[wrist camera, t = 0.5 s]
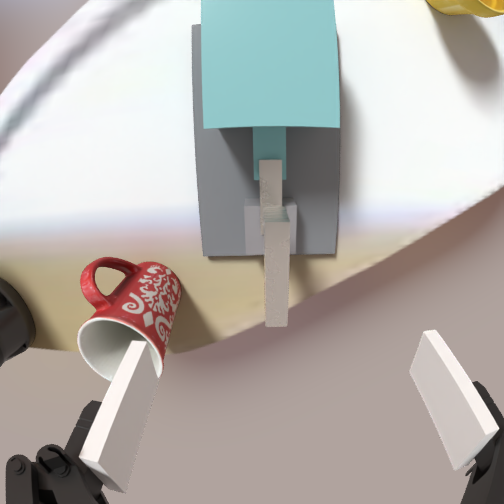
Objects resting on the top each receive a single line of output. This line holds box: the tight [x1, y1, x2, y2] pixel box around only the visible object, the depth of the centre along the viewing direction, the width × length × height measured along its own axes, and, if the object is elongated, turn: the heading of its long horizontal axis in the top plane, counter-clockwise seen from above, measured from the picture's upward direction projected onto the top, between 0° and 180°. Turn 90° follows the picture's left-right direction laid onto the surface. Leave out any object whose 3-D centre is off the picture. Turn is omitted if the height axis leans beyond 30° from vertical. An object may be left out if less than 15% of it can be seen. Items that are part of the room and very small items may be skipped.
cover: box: [201, 0, 340, 180], centre depth 24 cm, size 10×17×9 cm, turn 2°
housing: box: [192, 24, 340, 256], centre depth 28 cm, size 15×26×6 cm, turn 2°
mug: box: [77, 257, 181, 382], centre depth 31 cm, size 13×9×14 cm
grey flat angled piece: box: [259, 159, 290, 327], centre depth 25 cm, size 2×11×10 cm, turn 2°
